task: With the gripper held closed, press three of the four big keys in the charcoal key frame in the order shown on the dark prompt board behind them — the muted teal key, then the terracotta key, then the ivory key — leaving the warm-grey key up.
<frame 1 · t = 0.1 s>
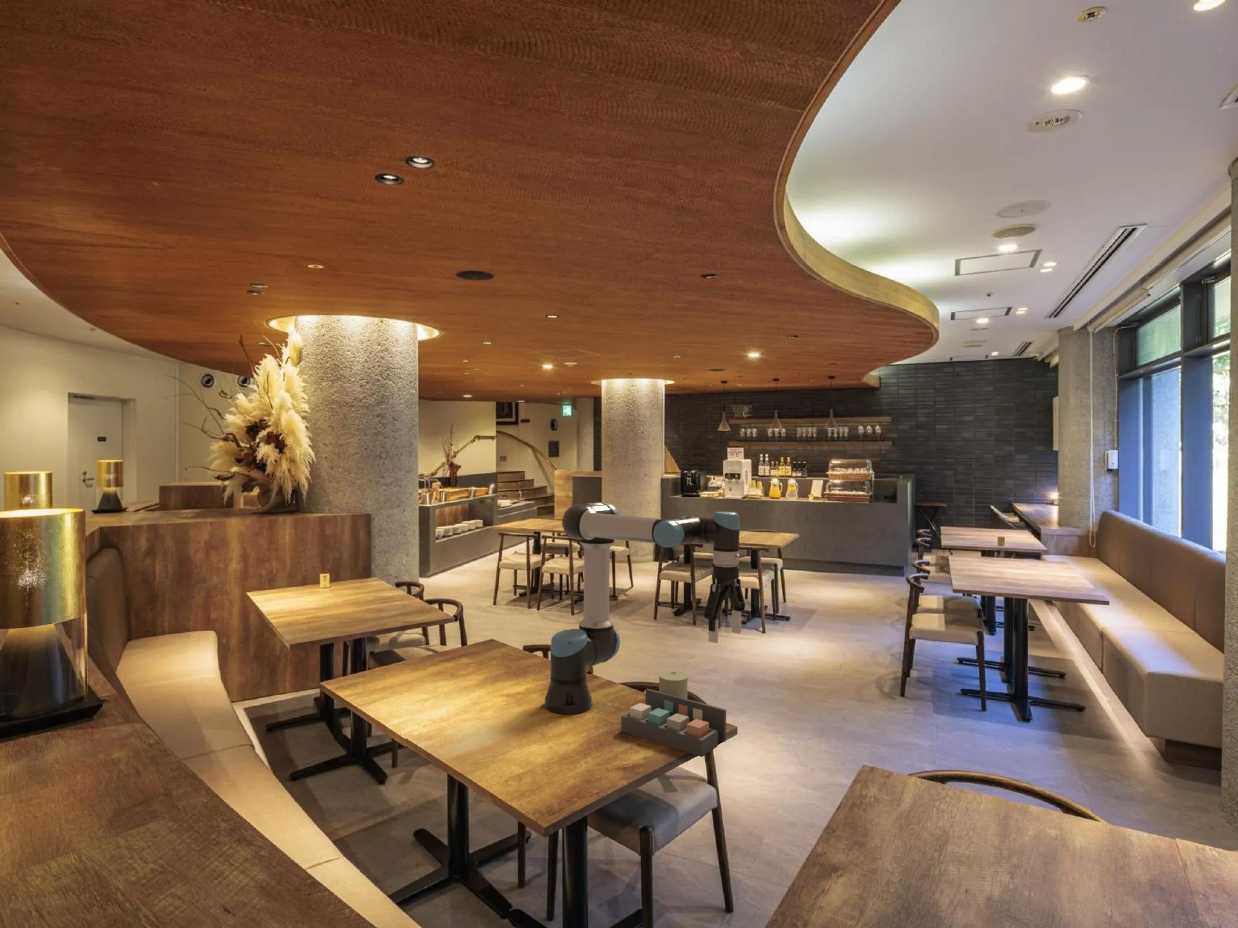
hand: (725, 637, 200), 28 cm above the table, fingers open, 13 cm apart
key 3: (677, 724, 194), point 5 cm above the table, slide at 0.0 cm
key 1: (640, 713, 202), point 5 cm above the table, slide at 0.0 cm
prompt screen: (683, 729, 202), on the table
key 4: (697, 730, 190), point 5 cm above the table, slide at 0.0 cm
key 2: (658, 718, 198), point 5 cm above the table, slide at 0.0 cm
key frame: (668, 738, 196), on the table
can: (672, 712, 216), on the table
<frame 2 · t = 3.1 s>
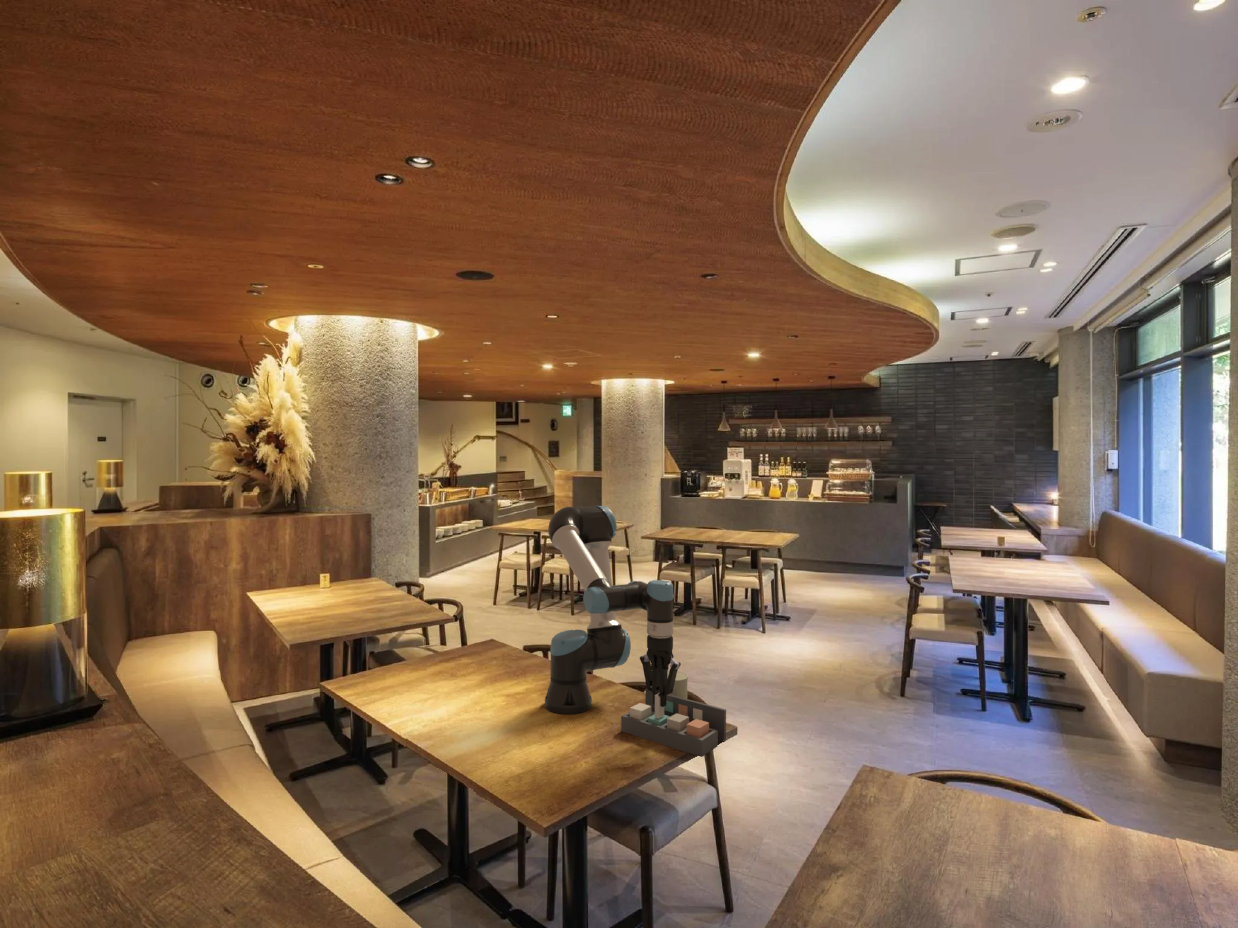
hand: (659, 716, 197), 6 cm above the table, fingers closed
key 2: (658, 723, 198), point 3 cm above the table, slide at 1.5 cm, touching gripper
everything else where it was.
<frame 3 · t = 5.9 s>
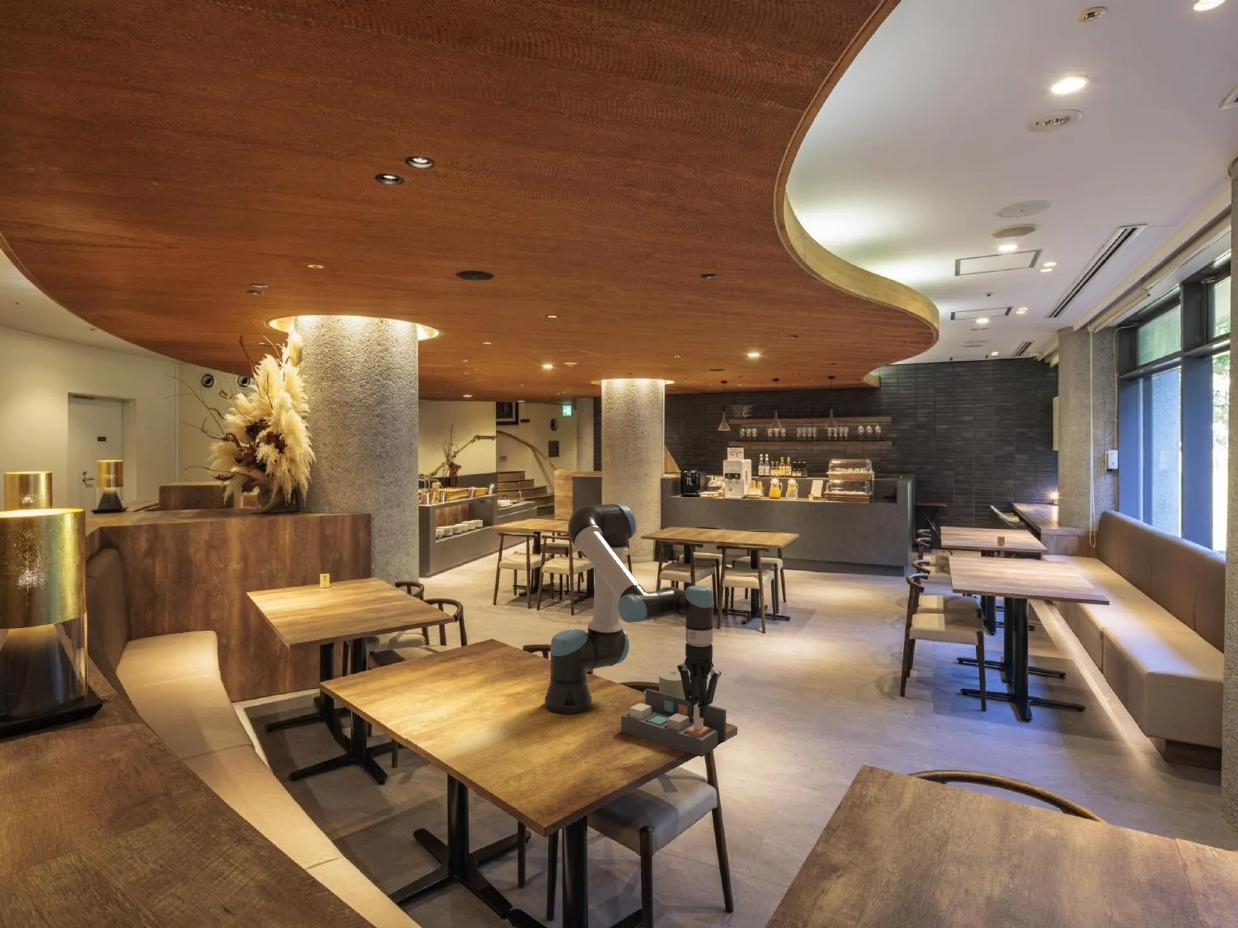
hand: (698, 727, 190), 6 cm above the table, fingers closed
key 4: (697, 735, 190), point 3 cm above the table, slide at 1.5 cm, touching gripper
key 2: (658, 726, 198), point 3 cm above the table, slide at 2.2 cm
everything else where it was.
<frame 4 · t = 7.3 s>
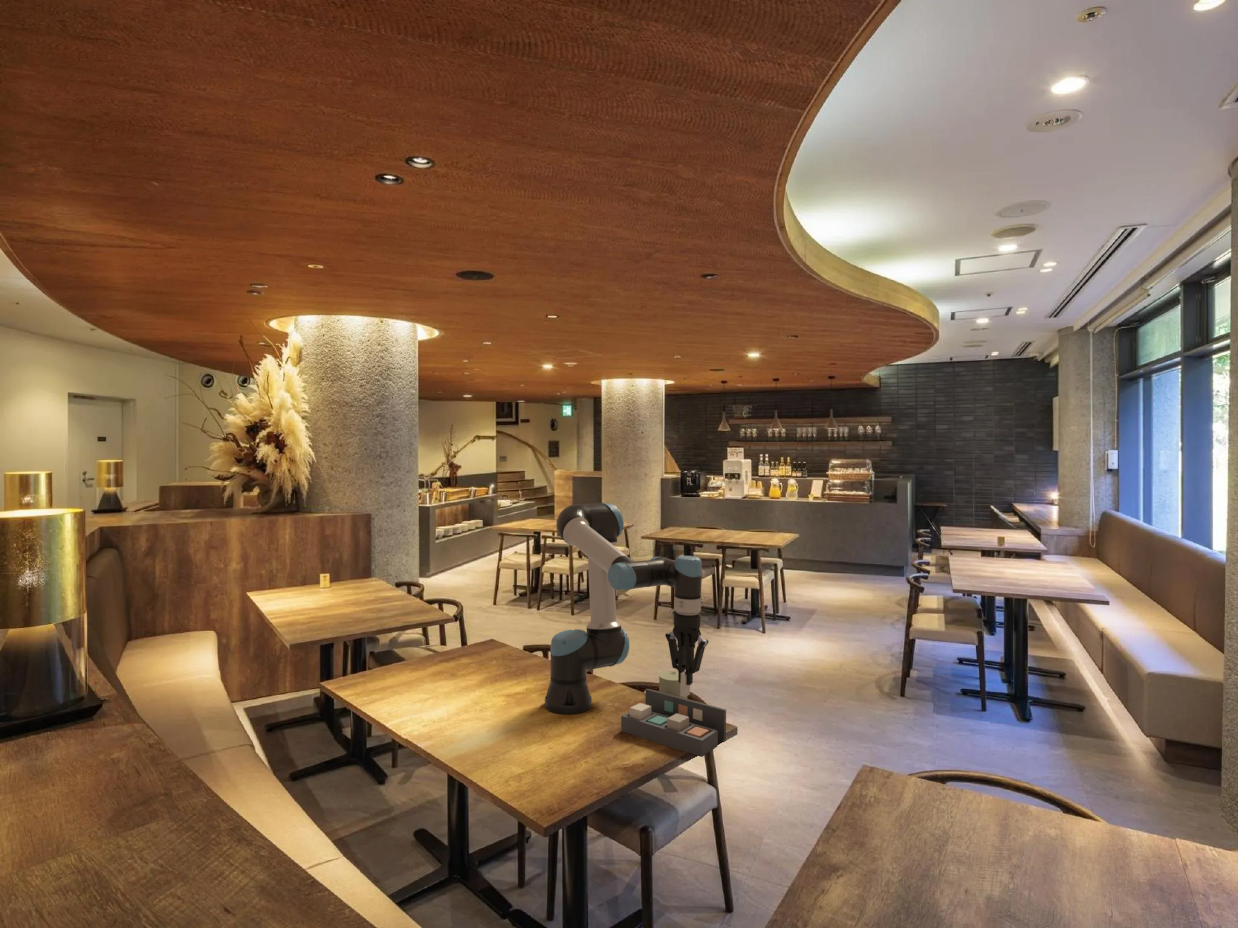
hand: (685, 694, 192), 14 cm above the table, fingers closed
key 4: (697, 738, 190), point 3 cm above the table, slide at 2.1 cm
everything else where it was.
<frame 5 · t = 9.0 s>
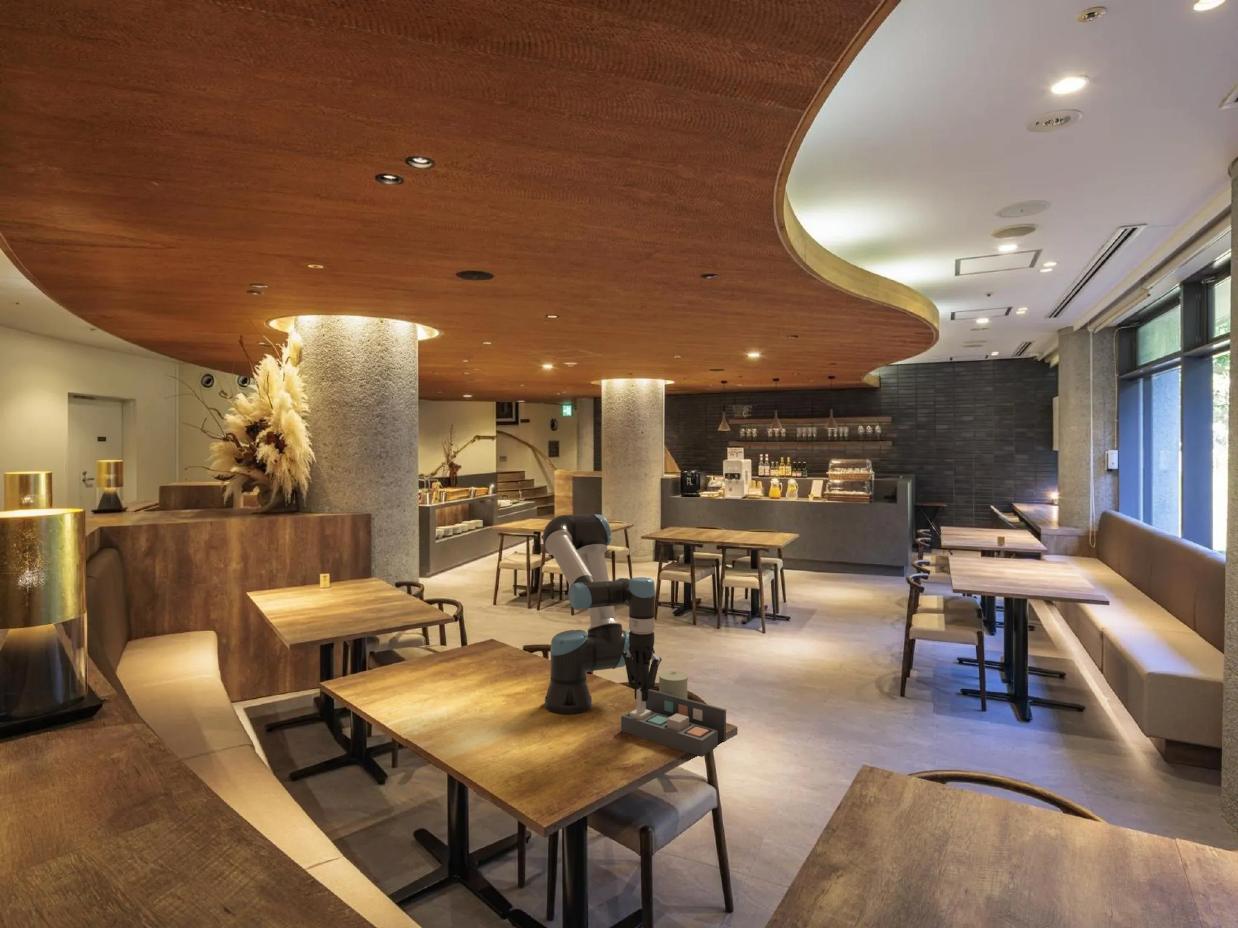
hand: (641, 710, 201), 6 cm above the table, fingers closed
key 1: (640, 718, 202), point 3 cm above the table, slide at 1.4 cm, touching gripper
everything else where it was.
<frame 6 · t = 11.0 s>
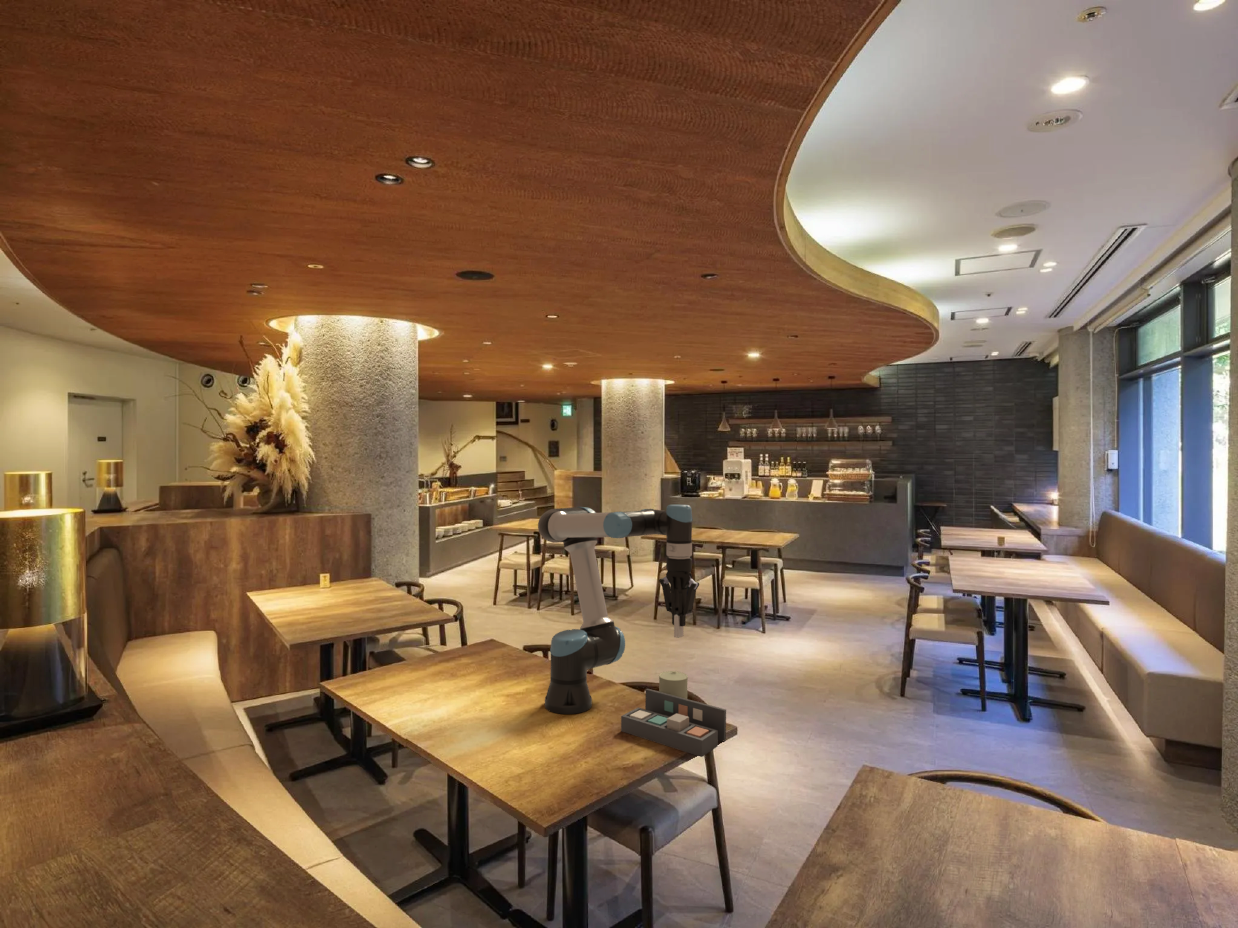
hand: (678, 636, 202), 27 cm above the table, fingers closed
key 1: (640, 720, 202), point 3 cm above the table, slide at 2.2 cm
everything else where it was.
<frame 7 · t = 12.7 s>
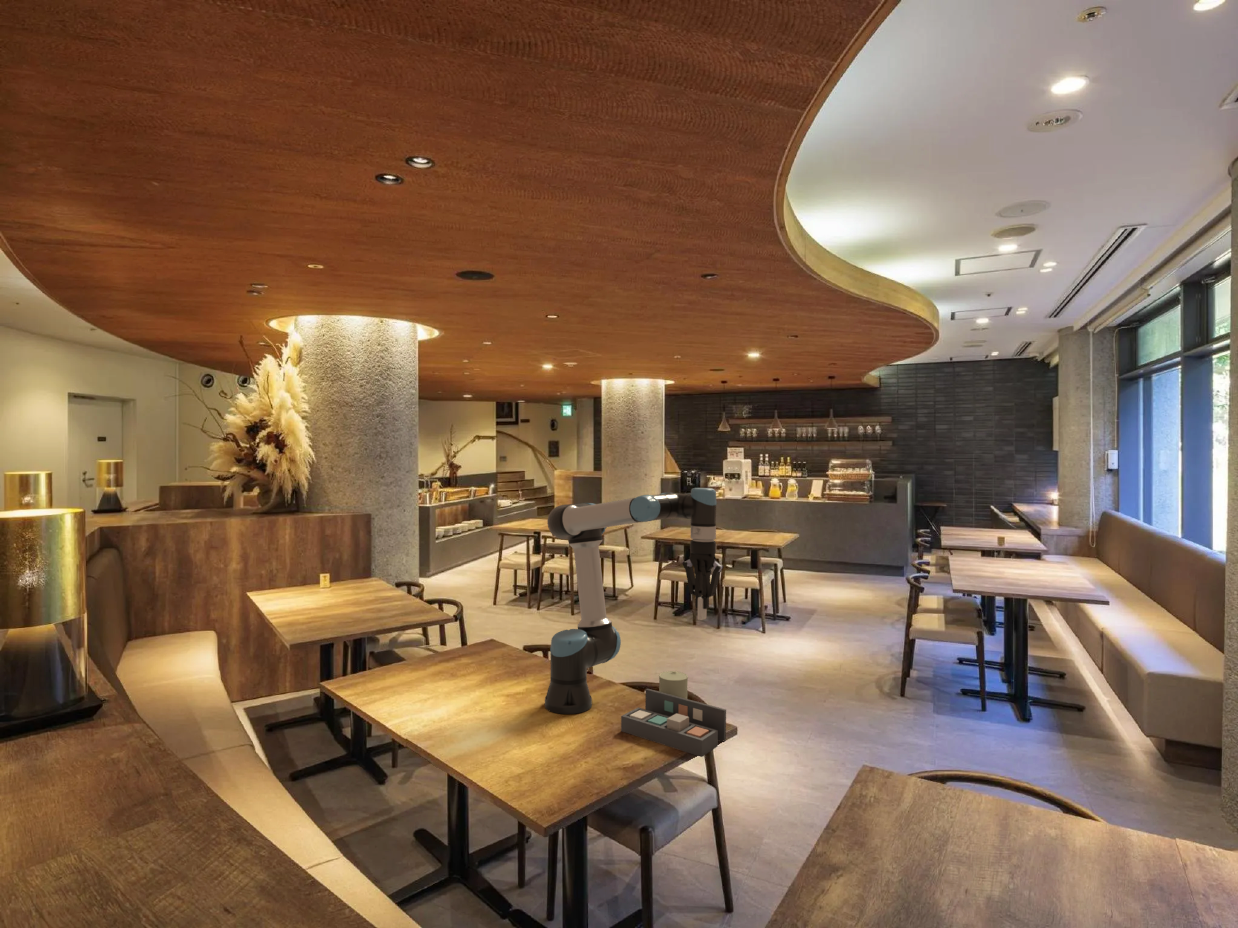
hand: (702, 618, 204), 32 cm above the table, fingers closed
nothing on the table moved.
at the end: key 2 slide at 2.2 cm; key 4 slide at 2.1 cm; key 1 slide at 2.2 cm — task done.
